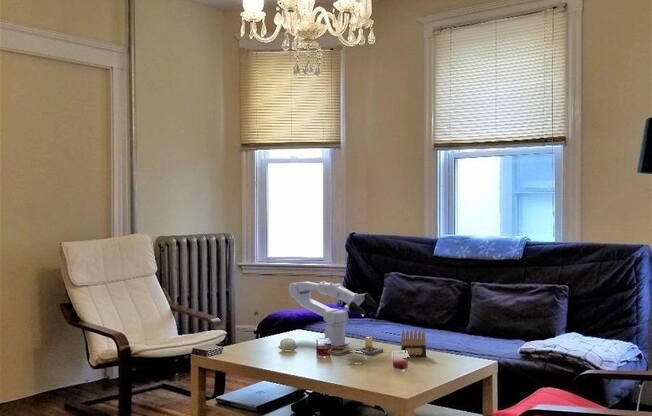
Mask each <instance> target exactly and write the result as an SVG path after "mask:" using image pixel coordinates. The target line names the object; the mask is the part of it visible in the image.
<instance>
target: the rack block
mask: <svg viewBox="0 0 652 416" xmlns="http://www.w3.org/2000/svg"><path fill="white" fill-rule="evenodd" d="M330 348H331V351H330V353H331V354H330V355H331V356H332V355H333V356H337V357H338V356H343V355H346V354H350V353H351V352H350V351H352V349H350V348H347V347H341V346H332V347H330ZM349 352H350V353H349Z"/></svg>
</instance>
